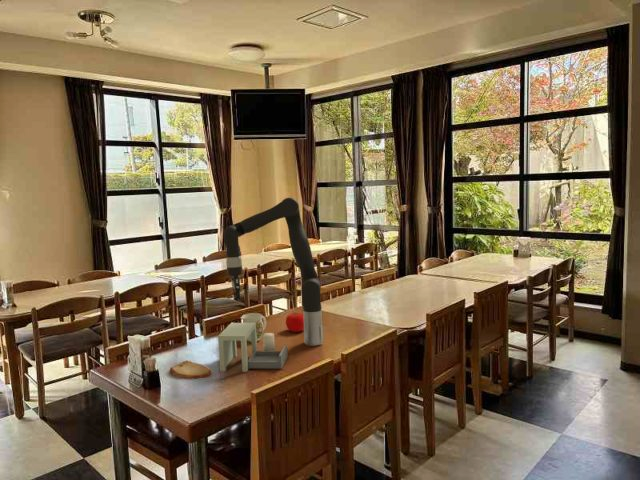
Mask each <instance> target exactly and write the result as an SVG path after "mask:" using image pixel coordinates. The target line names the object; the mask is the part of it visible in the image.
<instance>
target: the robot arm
mask: <svg viewBox="0 0 640 480" xmlns="http://www.w3.org/2000/svg"><path fill="white" fill-rule="evenodd" d="M283 218H284V219H285V222H286V225H287V229H288V238H289V242H290V243H289V244H290V248H291V251H292V254H293V255H292V256H293V258H294V260H295V262H296V264H297V266H298V267H299V270H300V273H301V279H302V286H301V302H302V304H301V305H302V308H303V309H302V311H303V313H302V314H303V318H304V329H303V338H304V339H303V342H304V344H305V345H306V346H310V347H312V346H321V345H323V342H324V334H323V332H324V331H323V330H324V329H323V327H324V326H323V319H322V317H323V315H322V303H321V301H322V300H321V290H322V285H321V282H320V279H319V275H318V274H317V271H316V268H315V263H314V257H313V253H312V249H311V245H310V241H309V238H308V236H307V233H306V231H305V228H304V225H303V222H302V217H301V211H300V204H299V202H298V200H297V199H296V198H294V197H285V198H284V199H283V200H281V201H280V202H279V203H277V204H276V205H274V206H273V207H270V208H268V209H266V210H264V211H262V212H258V213H256V214H254V215H251V216H249V217H247V218H244V219H243V220H241V221H239V222H236V223H234V224H231V225H228V226H227V227H226V228H225V229H224V231H223V240H224V244H225V253H226V254H225V255H226V273H227V275H226V276H229V277H230V278H231V279H230V281H231V287H232V291H233V294H232V295H233V296H234V297H235V299H236V300H240V299H241V280H240V277H239V276H241V275H243V273H244V272H243V261H242V255H241V246H240V245H239V238H240V237H242V236H244V235H246V234H248V233H252V232H254V231H256V230H259V229H260V228H263V227H265V226H267V225H268V224H271V223H272V222H274V221H278V220H280V219H283Z"/></svg>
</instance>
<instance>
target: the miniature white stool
mask: <svg viewBox="0 0 640 480" xmlns="http://www.w3.org/2000/svg"><path fill="white" fill-rule="evenodd" d="M250 334H251V342H250V343H251V355H252V354H253V352H254V351H258V343H257V342H258V341H257V338H256V323H243V322H230V323H229V324H228V326H226V327H225V328H224V330H223V331H222V332H220V333H219V334H218V336H217V340H218V355H219V358H218V360H219V371H220V372H225V371H227V366H228V365H229V363H230V362H231V361H232V360H233V359H234V358H236V357H237V356H238V350H237V348H238V347H237V342H238V341H240V349H241V350H240V351H241V368H242V369H241V370H242V373H243V372H244V373H245V372H248V371H249V368H248V360H249V358H248V347H247V346H248V343H247V342H248V341H247V340H246V339H247V338H248V336H249V335H250Z"/></svg>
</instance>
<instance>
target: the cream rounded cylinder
mask: <svg viewBox="0 0 640 480" xmlns="http://www.w3.org/2000/svg"><path fill="white" fill-rule="evenodd" d="M275 345H276V344H275V334H274V332H266V333H263V334H262V346H263V351H276V346H275Z"/></svg>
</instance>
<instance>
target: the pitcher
mask: <svg viewBox="0 0 640 480" xmlns="http://www.w3.org/2000/svg"><path fill="white" fill-rule="evenodd" d="M240 319H241V320H242V323H256V338H257V342H259V341H260V340H261V339H262V338H263V334H264V331H265V329H266V327H267V320H266V317H265V316H264V315H263V314H262V313H259V312H251V313H245V314H243V315H241V317H240ZM246 340H247V342H250V343H252V342H251V334H250V335H249V336H248V338H247V339H246Z"/></svg>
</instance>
